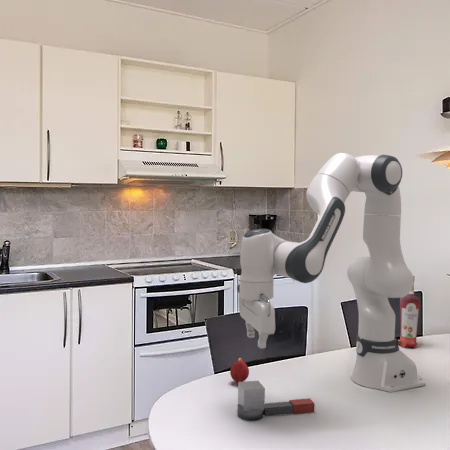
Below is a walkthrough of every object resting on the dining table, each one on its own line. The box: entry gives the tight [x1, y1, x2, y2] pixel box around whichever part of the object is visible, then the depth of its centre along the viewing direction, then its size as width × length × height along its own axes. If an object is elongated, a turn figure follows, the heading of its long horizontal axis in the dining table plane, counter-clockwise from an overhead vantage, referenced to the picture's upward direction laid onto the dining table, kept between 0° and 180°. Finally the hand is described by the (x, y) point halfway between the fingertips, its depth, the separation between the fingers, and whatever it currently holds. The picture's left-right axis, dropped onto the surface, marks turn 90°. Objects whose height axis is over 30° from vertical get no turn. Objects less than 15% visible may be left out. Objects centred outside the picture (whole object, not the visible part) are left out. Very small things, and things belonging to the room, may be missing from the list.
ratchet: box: [236, 398, 315, 422], centre depth 133 cm, size 21×7×6 cm, turn 104°
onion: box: [229, 357, 250, 384], centre depth 154 cm, size 6×6×8 cm
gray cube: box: [237, 380, 266, 411], centre depth 132 cm, size 6×6×6 cm
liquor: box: [399, 275, 421, 349], centre depth 195 cm, size 7×7×28 cm
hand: (256, 342), depth 132 cm, fingers open, 8 cm apart
